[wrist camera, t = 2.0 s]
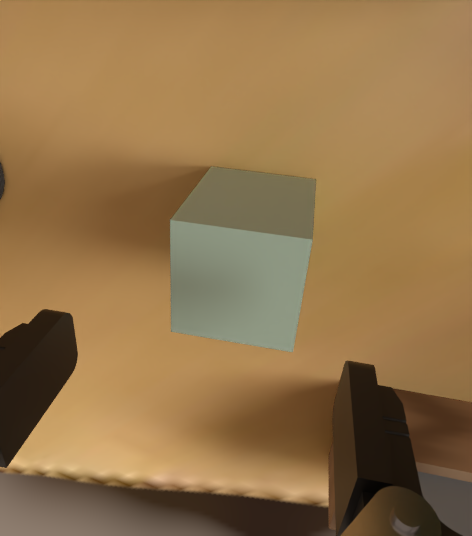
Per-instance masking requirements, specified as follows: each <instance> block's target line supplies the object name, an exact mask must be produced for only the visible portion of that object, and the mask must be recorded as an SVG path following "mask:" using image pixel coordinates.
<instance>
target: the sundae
mask: <svg viewBox="0 0 472 536" xmlns="http://www.w3.org/2000/svg"><path fill="white" fill-rule="evenodd" d="M4 184H5V181H4V174H3V170H2V166H1V163H0V199H1V197H2V194H3V191H4Z"/></svg>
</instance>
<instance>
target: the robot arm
mask: <svg viewBox="0 0 472 536" xmlns="http://www.w3.org/2000/svg"><path fill="white" fill-rule="evenodd" d="M77 357H78V352H77V345H76V338H75V331H74V324H73V318H72V316H71V314H70V313H65V312H59V311H53V310H47V309H44V310H42V311H40V312H39V313H38V314H37V315H36V316H35V317H34V318H33V319H32V321H31V322H30V323H29V324H25V323H22V324H20V325H19V326H17V327H15V328H13V329H11V330H10V331H8V332H6V333H5V334H4V335H3V336H2V337H1V338H0V467H5V468H7V466H8V465H9V464H10V462H11V461H12V459H13V458H14V456H15V455H16V454H17V452H18V451H19V449H20V448H21V446H22V445H23V443H24V442H25V441H26V439H27V438H28V436H29V435H30V433H31V432H32V431H33V429H34V428H35V426H36V425H37V423H38V422H39V420H40V419H41V418H42V416H43V415H44V413H45V412H46V410H47V409H48V408H49V406H50V405H51V403H52V402H53V400H54V399H55V398H56V396H57V395H58V393H59V392H60V390H61V389H62V387H63V386H64V385H65V383H66V382H67V380H68V379H69V377H70V376H71V375H72V373H73V371H74V369H75V366H76V363H77ZM406 421H407V420H406V416H405V411H404V407H403V403H402V402H401V400H400V399H399V397H398V396H397V394H396V393H395V391H394V390H393V389H392V388H391V387H386V386H380V385H378V384H377V378H376V371H375V367H374V365H370V364H364V363H359V362H353V361H346V362H345V364H344V367H343V371H342V375H341V379H340V382H339V386H338V390H337V394H336V397H335V402H334V408H333V455H334V488H335V520H336V536H463V535H461V534H459V533H457V532H455V531H453V530H452V529H450V528H449V527H448V526H446V525H445V524H444V523H443V522H441V521H440V520H439V518H438V516H437V514H436V512H435V511H434V509H433V508H432V507H431V505H430V504H429V503H428V502H427V501H426V500H425V499H424V497H423V494H422V490H421V486H420V481H419V476H418V472H417V467H416V462H415V458H414V453H413V448H412V444H411V439H410V438H409V435H410V434H409V430H408V425H407V424H406Z"/></svg>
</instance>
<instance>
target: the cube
mask: <svg viewBox="0 0 472 536" xmlns="http://www.w3.org/2000/svg"><path fill="white" fill-rule="evenodd" d="M417 472H418V471H417ZM418 476H419V481H420V486H421V490H422V494H423V497H424V499H425V500H426V501H427V502H428V503H429V504H430V505H431V507H432V508H433V509H434V511H435V512H436V514H437V516H438V518H439V520H440V521H441V522H443V523H444V524H445V525H446V526H448V527H449V528H450V529H452V530H453V531H455V532H457V533H459V534H461V535H463V536H472V482H467V481H462V480H457V479H452V478H448V477H443V476H438V475H433V474H428V473H423V472H418Z"/></svg>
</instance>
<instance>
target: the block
mask: <svg viewBox="0 0 472 536" xmlns="http://www.w3.org/2000/svg"><path fill="white" fill-rule="evenodd" d="M315 191H316V179H310V178H302V177H294V176H286V175H277V174H269V173H261V172H253V171H245V170H237V169H229V168H221V167H212V166H211V167H210V169H209V170H208V171H207V173H206V174H205V175H204V176H203V178H202V179H201V180H200V182H199V183H198V184H197V186H196V187H195V188H194V189H193V191H192V192H191V193H190V195H189V196H188V197H187V199H186V200H185V201H184V202H183V204H182V205H181V206H180V208H179V209H178V210H177V212H176V213H175V214H174V215H173V217H172V218H171V219H170V266H171V332H176V333H182V334H188V335H194V336H200V337H206V338H212V339H218V340H223V341H229V342H235V343H241V344H247V345H253V346H259V347H265V348H270V349H276V350H282V351H288V352H293V349H294V343H295V337H296V331H297V326H298V320H299V314H300V309H301V303H302V297H303V292H304V286H305V280H306V274H307V269H308V263H309V257H310V252H311V246H312V240H313V225H314V208H315Z"/></svg>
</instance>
